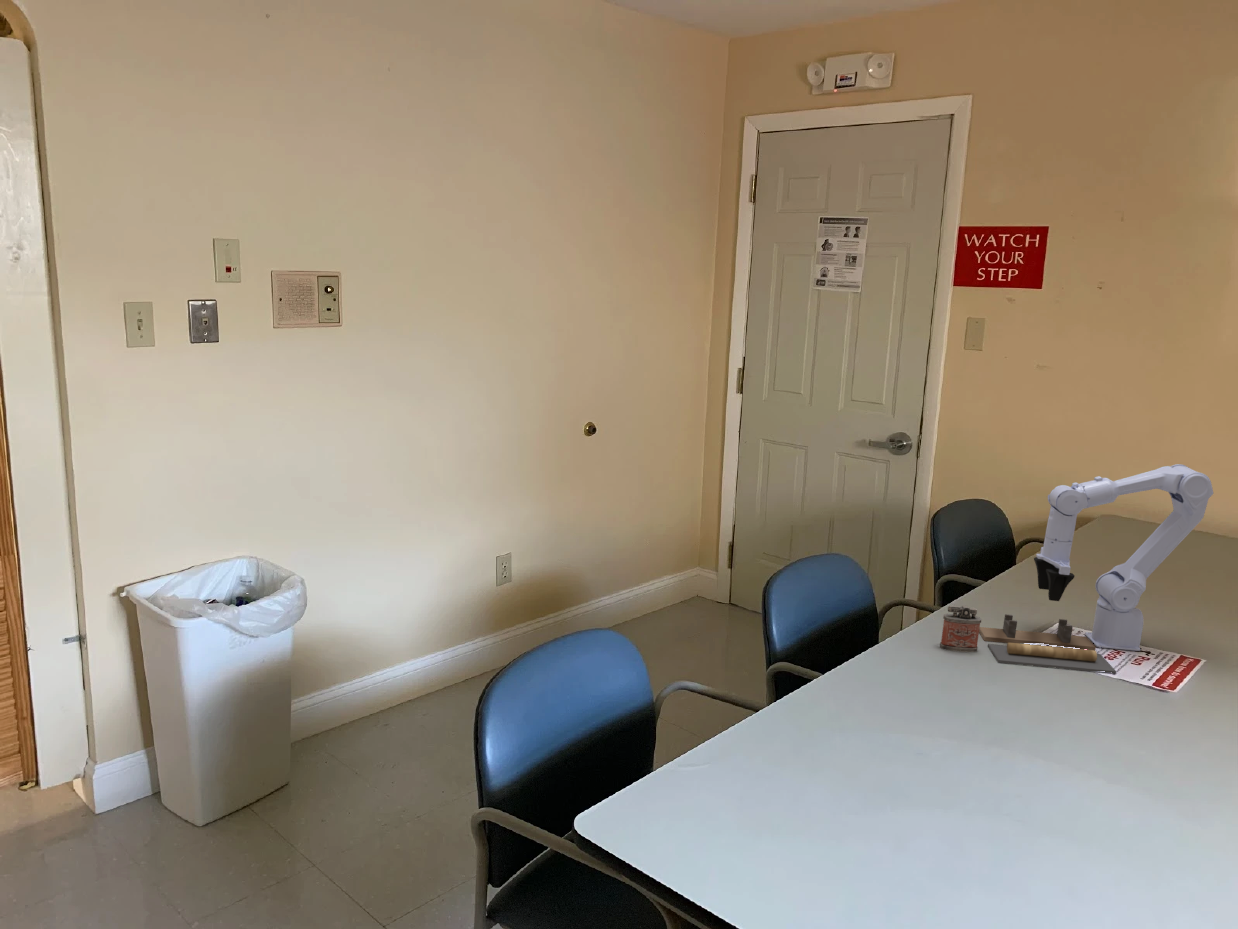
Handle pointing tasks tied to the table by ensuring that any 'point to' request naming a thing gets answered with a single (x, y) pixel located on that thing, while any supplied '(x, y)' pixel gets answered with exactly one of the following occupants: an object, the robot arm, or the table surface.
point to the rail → (1052, 652)
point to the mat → (1049, 660)
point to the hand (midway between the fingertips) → (1048, 594)
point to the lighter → (960, 629)
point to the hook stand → (1035, 635)
